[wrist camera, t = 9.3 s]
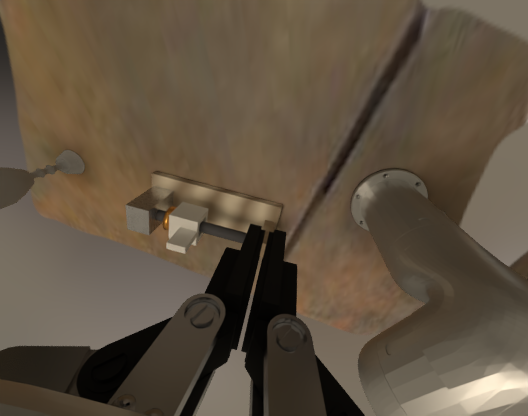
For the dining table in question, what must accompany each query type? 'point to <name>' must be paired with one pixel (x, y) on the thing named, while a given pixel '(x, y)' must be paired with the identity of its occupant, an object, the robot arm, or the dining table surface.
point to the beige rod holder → (222, 204)
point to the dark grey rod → (213, 229)
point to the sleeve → (185, 226)
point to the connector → (149, 210)
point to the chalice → (20, 181)
